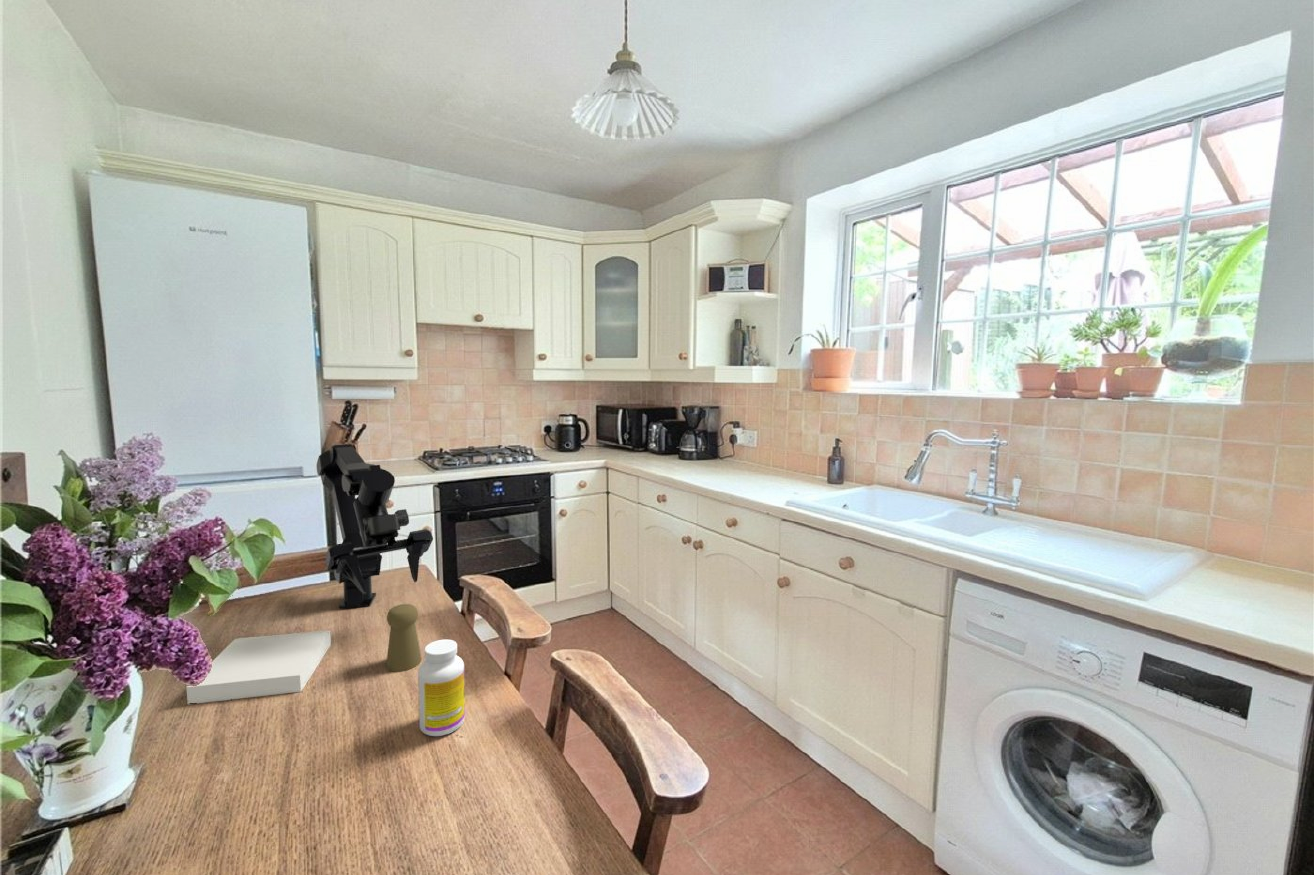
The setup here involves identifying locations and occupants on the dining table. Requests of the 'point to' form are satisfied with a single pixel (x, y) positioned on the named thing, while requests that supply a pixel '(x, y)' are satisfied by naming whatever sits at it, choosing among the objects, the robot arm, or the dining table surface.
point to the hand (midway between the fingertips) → (391, 587)
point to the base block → (262, 667)
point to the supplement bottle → (441, 689)
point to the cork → (403, 638)
